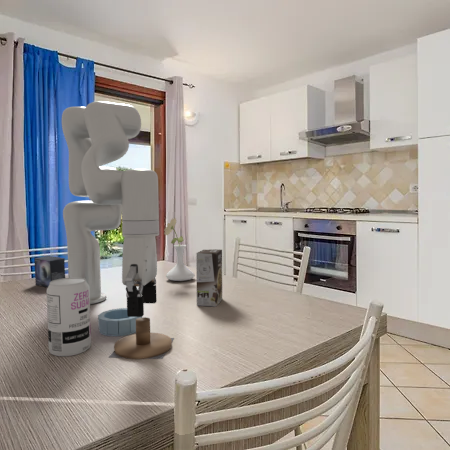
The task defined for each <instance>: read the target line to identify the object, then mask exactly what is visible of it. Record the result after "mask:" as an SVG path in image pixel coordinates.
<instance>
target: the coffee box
mask: <svg viewBox="0 0 450 450" xmlns="http://www.w3.org/2000/svg"><path fill="white" fill-rule="evenodd" d="M195 255H196V257H195V258H196V260H195V261H196V266H195V267H196V306H198V307H199V306H204V307H217V306H218V305H219V304H220V302H221V301H222V300H223V249H202V250H200V251H198V252H196V253H195Z"/></svg>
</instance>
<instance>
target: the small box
mask: <svg viewBox="0 0 450 450" xmlns="http://www.w3.org/2000/svg"><path fill="white" fill-rule="evenodd" d="M33 259H34V276H35V280H34V281H35V285H36V286H39V287H42V288H46V289H47V288H48V286H49V284H50V282H51V281H53V280H57V279H63V278H66V268H65V267H66V266H65V265H66V264H65V259H66V258H64V257H58V256H52V255H47V256H41V257H40V256H39V257H35V258H33Z"/></svg>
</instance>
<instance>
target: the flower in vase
mask: <svg viewBox="0 0 450 450" xmlns="http://www.w3.org/2000/svg"><path fill="white" fill-rule="evenodd" d="M176 224H177V218H176V217H174V218H173V217H172V218H171V219H170V222H168V223H167V226H166V227H165V228H164V230H163V231H164V233H163V235H165V236H168V235H170V234H171V233H172V232H174V234H175V237H174V238H173V239H172V240H171V241H170V244H172V245H173V244H174V245H173V247H174V248H175V251H176V256H177V259H176V260H177V261H176V264H175V266H174V267H172V268H171V269H170V270H169V271H168V272H167V273H166V274H165V275H166V276H165V277H166V279H168V280H170V281H176V282H183V281H184V282H185V281H189V280H192V279H194V277H195V276H196V275H195V273H194V272H193V270H191V269H190V268H189V267H188V266H187V265H186V264H185V263H184V251H185V249H186V247H187V244H180V243H183V242H184V238H183V235H181V236H179V237H178V234H177V233H176V232H177V231H176V230H175V227H176ZM176 242H178V244H175V243H176Z"/></svg>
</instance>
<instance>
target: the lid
mask: <svg viewBox="0 0 450 450" xmlns="http://www.w3.org/2000/svg"><path fill="white" fill-rule="evenodd" d="M171 338H172V337H170V336H168V335H167V334H163V333H158V332H151V319H150V317H146V316H145V317H144V316H142V318H138V319H136V332H135V333H133V334H129V335H125V336H124V337H123V336H122V337H121V338H119V339H118V340H116V342H114V345H113V352H115V353H116V354H117V355H118V356H120V357H123V358H122V359H128V360H129V359H130V360H140V359H141V360H144V359H145V358H151V357H155V356H159V355H161V354H164V353H166V354H167V352H169V351H170V350H171V349H172V345H173V344H172V343H173V341H172V340H171Z"/></svg>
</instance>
